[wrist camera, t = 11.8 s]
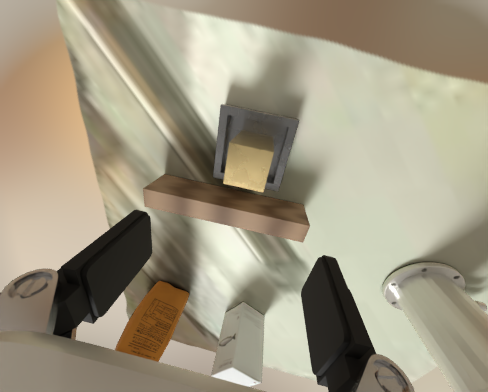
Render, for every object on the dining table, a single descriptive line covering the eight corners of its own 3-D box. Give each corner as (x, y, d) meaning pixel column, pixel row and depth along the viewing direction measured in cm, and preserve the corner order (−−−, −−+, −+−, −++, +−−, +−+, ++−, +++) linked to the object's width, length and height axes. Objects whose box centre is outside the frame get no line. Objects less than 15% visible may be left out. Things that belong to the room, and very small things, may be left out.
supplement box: (242, 300, 44) (233, 367, 33) (265, 315, 46) (263, 384, 35) (224, 312, 47) (209, 376, 36) (245, 326, 49) (238, 392, 38)
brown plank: (303, 204, 31) (309, 226, 26) (297, 219, 32) (302, 242, 27) (164, 174, 32) (143, 188, 26) (164, 189, 33) (144, 206, 28)
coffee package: (141, 296, 49) (57, 424, 30) (160, 273, 44) (71, 410, 24) (174, 314, 51) (114, 445, 32) (195, 293, 46) (139, 436, 26)
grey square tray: (296, 118, 25) (299, 120, 23) (277, 184, 30) (278, 191, 28) (225, 104, 26) (220, 104, 23) (217, 171, 30) (213, 177, 28)
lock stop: (273, 136, 26) (273, 152, 18) (265, 166, 28) (263, 192, 20) (242, 130, 26) (229, 142, 18) (236, 160, 28) (223, 183, 20)
